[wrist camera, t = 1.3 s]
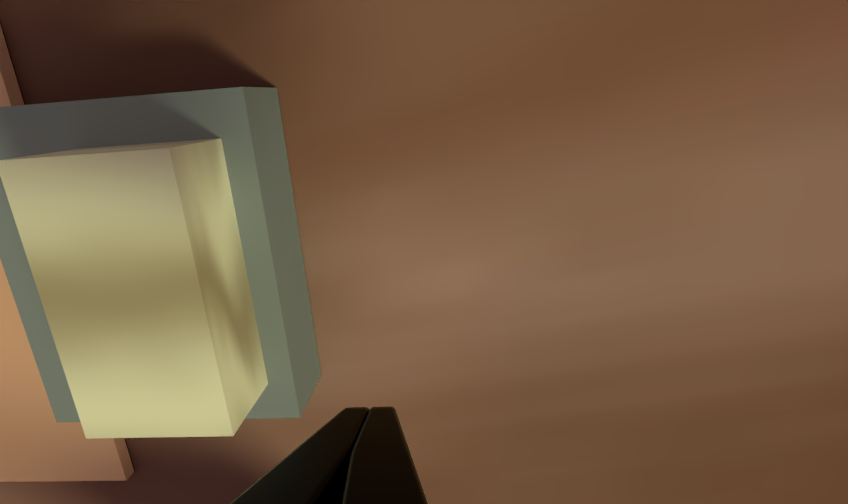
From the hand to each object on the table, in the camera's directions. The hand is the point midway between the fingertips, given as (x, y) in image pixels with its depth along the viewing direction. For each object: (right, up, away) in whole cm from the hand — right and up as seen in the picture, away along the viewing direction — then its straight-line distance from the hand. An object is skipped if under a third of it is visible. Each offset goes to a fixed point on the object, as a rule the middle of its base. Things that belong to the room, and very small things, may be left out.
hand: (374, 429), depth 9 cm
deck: (-9, +3, +12) cm, 15 cm away
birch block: (-8, +2, +8) cm, 11 cm away
